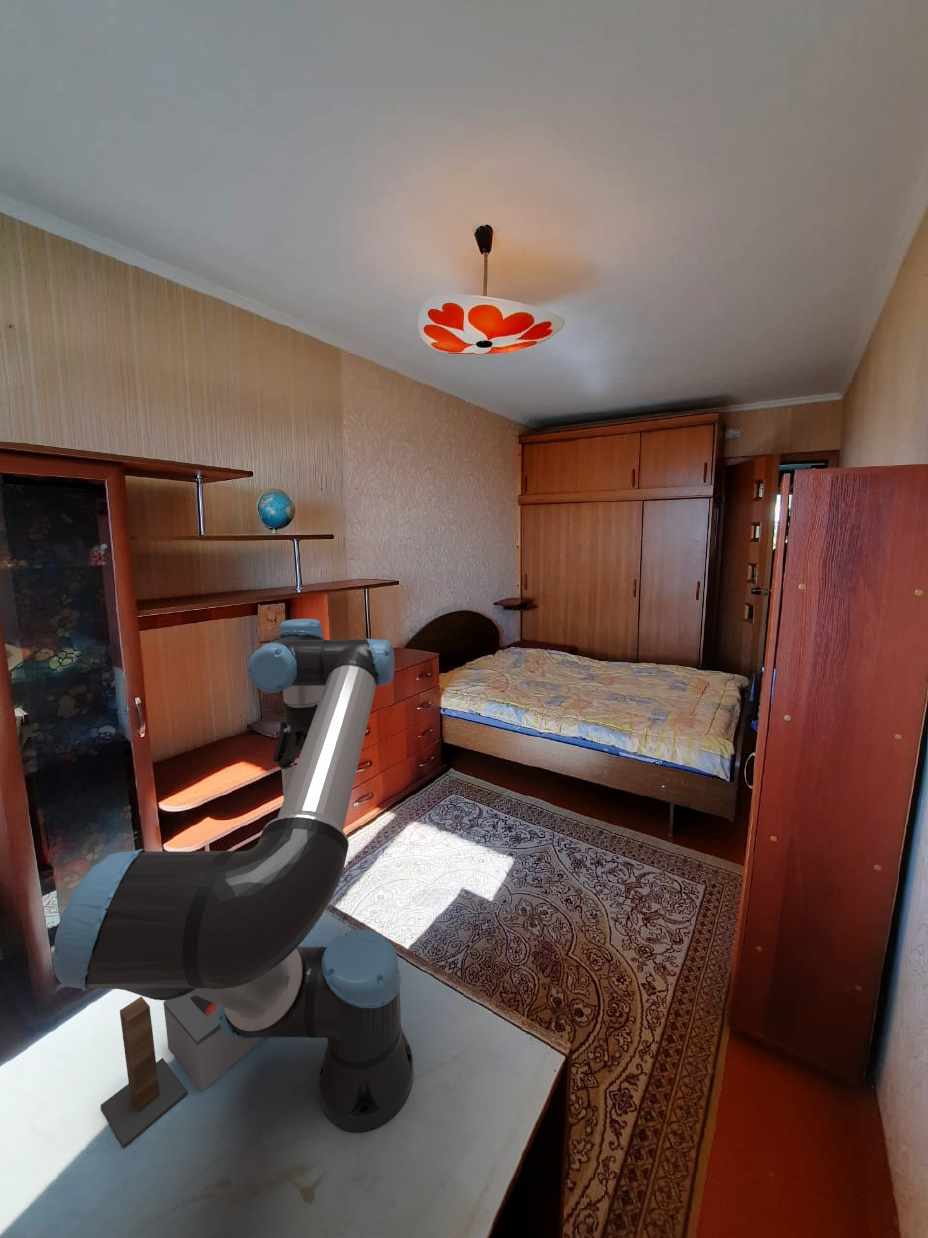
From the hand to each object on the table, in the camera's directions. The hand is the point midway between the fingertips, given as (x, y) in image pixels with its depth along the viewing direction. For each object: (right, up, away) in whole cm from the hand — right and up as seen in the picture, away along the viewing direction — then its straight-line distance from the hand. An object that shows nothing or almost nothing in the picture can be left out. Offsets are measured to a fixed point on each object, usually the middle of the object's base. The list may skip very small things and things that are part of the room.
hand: (311, 808), depth 95 cm
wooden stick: (-21, -39, -17) cm, 48 cm away
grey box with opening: (-14, -38, -8) cm, 42 cm away
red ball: (-14, -36, -8) cm, 40 cm away
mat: (-21, -40, -17) cm, 48 cm away
